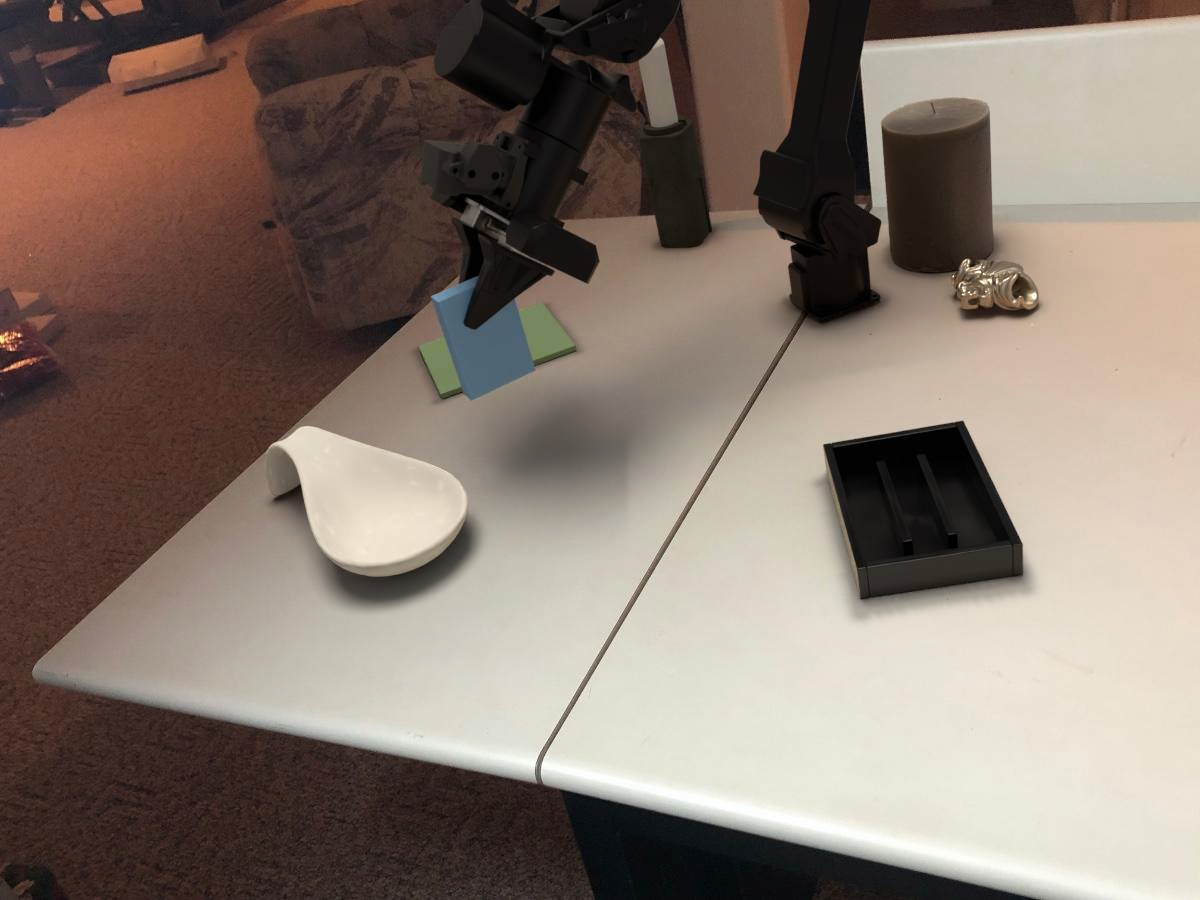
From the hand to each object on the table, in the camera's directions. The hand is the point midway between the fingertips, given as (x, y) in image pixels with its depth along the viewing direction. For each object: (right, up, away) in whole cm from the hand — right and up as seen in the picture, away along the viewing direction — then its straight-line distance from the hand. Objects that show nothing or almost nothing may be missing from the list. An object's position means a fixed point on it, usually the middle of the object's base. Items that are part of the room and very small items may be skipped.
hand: (464, 323), depth 85 cm
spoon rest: (-9, -16, +4) cm, 19 cm away
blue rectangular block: (+2, -4, +4) cm, 6 cm away
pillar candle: (+44, +10, +22) cm, 50 cm away
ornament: (+45, +3, +12) cm, 47 cm away
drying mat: (0, 0, +25) cm, 25 cm away
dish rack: (+32, -15, -11) cm, 37 cm away
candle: (+20, +14, +38) cm, 46 cm away
